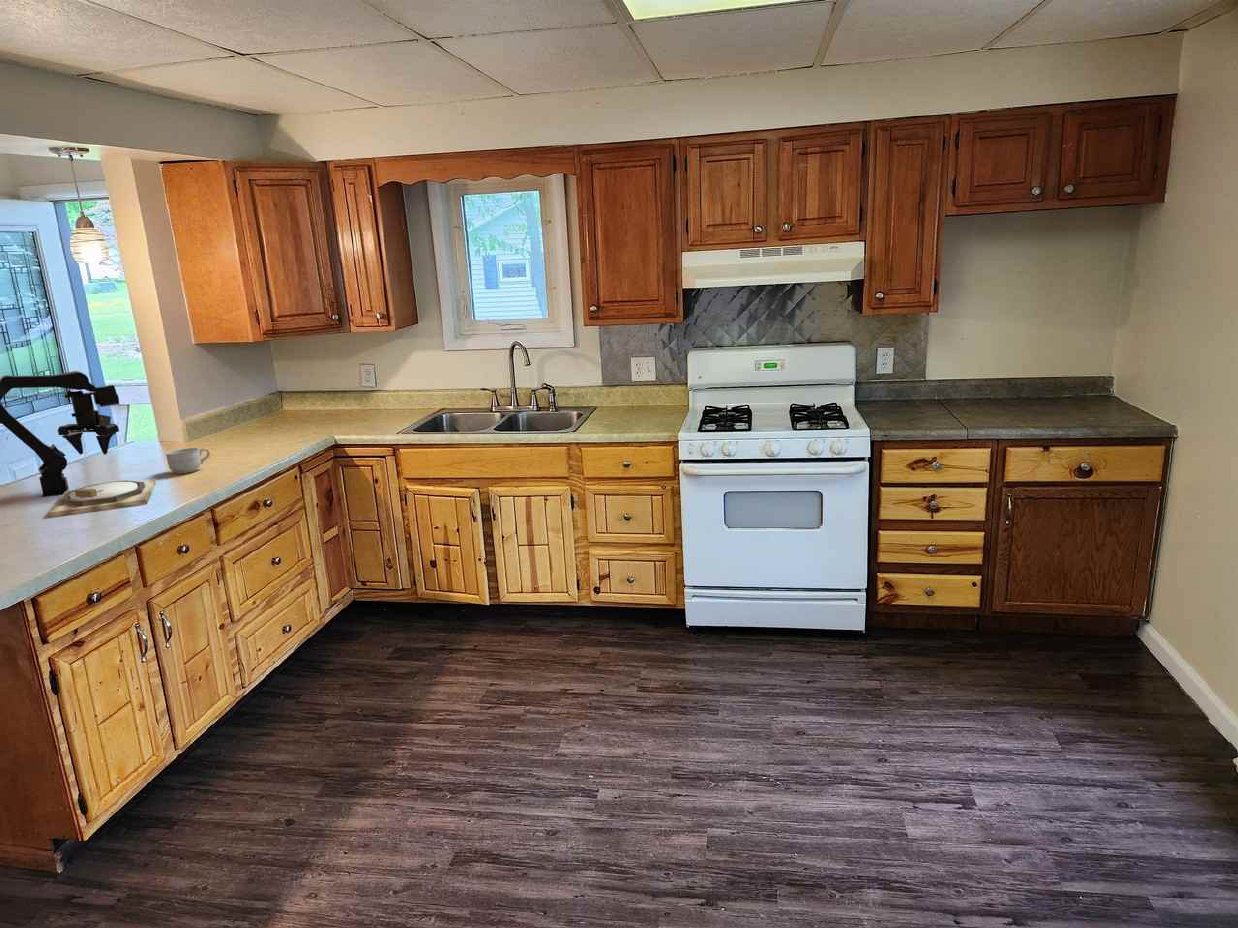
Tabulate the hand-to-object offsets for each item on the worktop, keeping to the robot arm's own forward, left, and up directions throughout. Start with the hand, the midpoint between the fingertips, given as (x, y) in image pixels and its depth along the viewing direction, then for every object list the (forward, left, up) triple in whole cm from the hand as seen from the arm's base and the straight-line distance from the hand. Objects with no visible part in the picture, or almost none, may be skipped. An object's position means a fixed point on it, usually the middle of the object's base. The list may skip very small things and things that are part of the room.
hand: (93, 454), depth 272 cm
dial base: (+5, -22, -11) cm, 25 cm away
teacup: (+28, +4, -11) cm, 30 cm away
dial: (+5, -22, -9) cm, 24 cm away
